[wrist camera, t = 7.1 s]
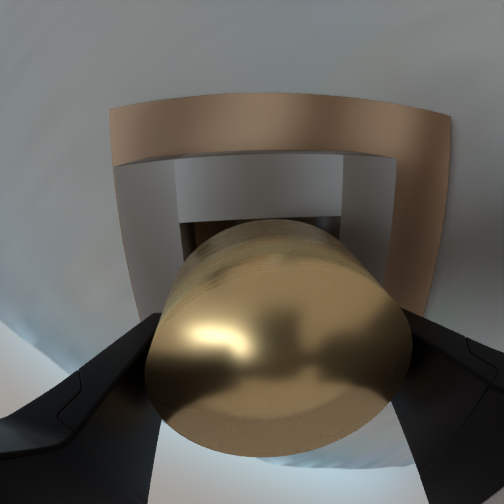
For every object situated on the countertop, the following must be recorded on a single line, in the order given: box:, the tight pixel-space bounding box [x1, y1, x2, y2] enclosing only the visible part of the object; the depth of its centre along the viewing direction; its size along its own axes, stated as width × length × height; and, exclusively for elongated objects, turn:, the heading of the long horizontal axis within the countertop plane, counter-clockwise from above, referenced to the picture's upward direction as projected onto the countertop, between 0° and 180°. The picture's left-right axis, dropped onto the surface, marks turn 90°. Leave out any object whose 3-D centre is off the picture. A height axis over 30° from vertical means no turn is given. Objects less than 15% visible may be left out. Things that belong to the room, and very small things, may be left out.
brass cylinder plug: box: [144, 219, 412, 457], centre depth 9 cm, size 6×6×6 cm
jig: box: [109, 93, 451, 322], centre depth 12 cm, size 16×14×4 cm
